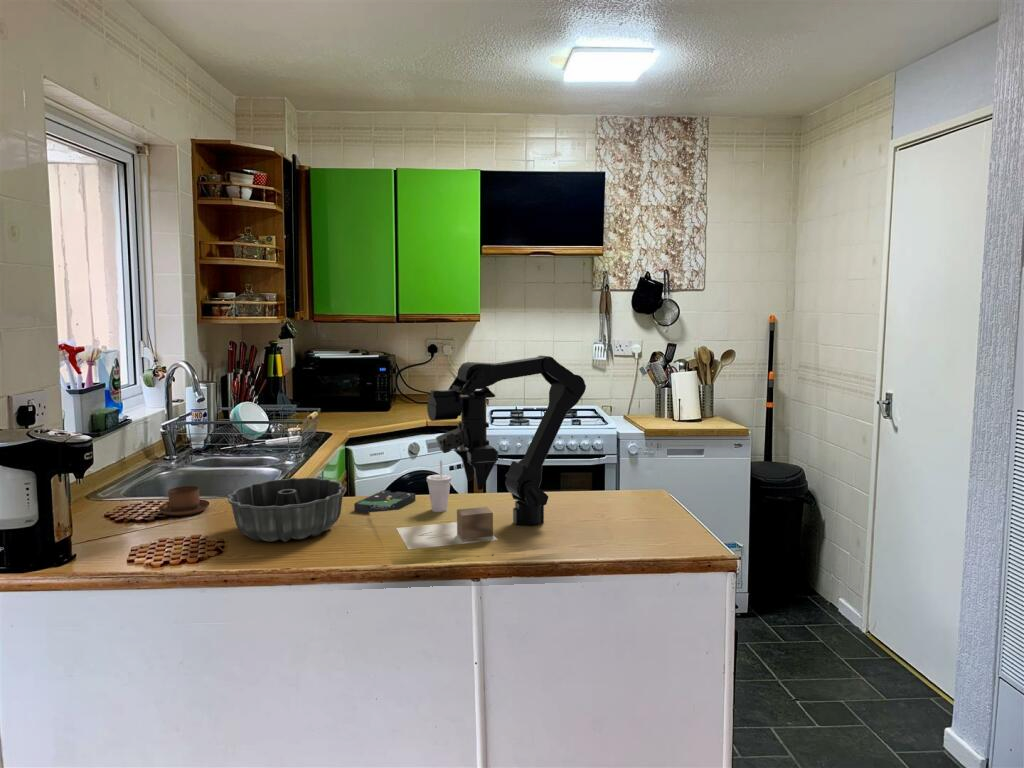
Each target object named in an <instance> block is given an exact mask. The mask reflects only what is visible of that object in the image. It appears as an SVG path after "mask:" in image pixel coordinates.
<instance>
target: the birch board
mask: <svg viewBox="0 0 1024 768" xmlns="http://www.w3.org/2000/svg"><path fill="white" fill-rule="evenodd" d="M396 530H397V532H398V533H399V536H400V538H401V539H402V541H403V543H404V545H405V546H406V548H407V550H408V551H409V550H415V549H425V548H436V547H445V546H455V545H462V544H463V545H465V544H474V543H481V542H492V541H498V538H497V537H496V536H495V535H494V534H493V539H488V540H478V541H469V542H462V541H461V540H460V539H459V537H458V536H457V521H455V522H454V521H452V522H445V523H443V522H442V523H435V524H426V525H425V524H424V525H423V524H422V525H415V526H414V525H413V526H405V527H404V526H402V527H396Z"/></svg>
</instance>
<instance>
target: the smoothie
mask: <svg viewBox="0 0 1024 768" xmlns="http://www.w3.org/2000/svg"><path fill="white" fill-rule="evenodd" d="M452 481H453V480H452V476H451V475H449V474H443V460H442V459H441V460H439V474H438V473H437V474H432V475H427V477H426V482H427V486H428V492H429V501H430V505H431V506H430V507H431V511H432V512H435V513H443V512H447V511H448V507H449V497H450V489H451V482H452Z"/></svg>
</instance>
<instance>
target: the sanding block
mask: <svg viewBox="0 0 1024 768" xmlns="http://www.w3.org/2000/svg"><path fill="white" fill-rule="evenodd" d="M456 522H457V536H458V537H459V539H460V540H461V541H462V542H469V541H478V540H488V539H493V535H494V512H493V511H492V510H491V509H490V508H488V507H487V506H482V507H481V506H480V507H471V508H470V507H469V508H460V509H459V508H458V509H456Z"/></svg>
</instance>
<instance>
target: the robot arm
mask: <svg viewBox="0 0 1024 768" xmlns="http://www.w3.org/2000/svg"><path fill="white" fill-rule="evenodd" d="M534 375H541V376H542V377H543V379H544V380H545V381H546V382H547V383H548V384H549V385H550V389H549V390H548V391H549V392H548V406H547V407H546V410H545V412H544V414H543V416H542V418H541V420H540V422H539V425H538V427H537V429H536V431H535V433H534V435H533V437H532V438H531V439H532V440H531V442H530V444H529V446H528V448H527V450H526V452H525V454H524V456H523V457H522V458H521V460H519V461H518V462H517V461H514V460H513V461H511V463H510V466H509V469H508V471H507V472H506V474H504V477H506V479H505V481H504V485H505V487H506V489H507V491H508V492H509V493H510V494H511V496H512V499H513V500H515V501H514V506H515V507H513V508H512V523H513V524H514V525H515V526H519V527H522V526H523V527H534V526H535V527H536V526H540V525H541V524H545V523H544V522H545V506H546V505H547V504H548V500H549V495H548V494H546V493H545V491H543V490H542V488H541V487H540V486H541V483H542V479H543V465H544V463H545V461H546V458H547V457H548V454H549V452H550V450H551V448H552V446H553V443H554V441H555V439H556V437H557V435H558V432H559V430H560V429H561V426H562V424H563V422H564V419H565V417H566V416H567V414H568V412H569V411H570V410H571V409H573V408H574V407H575V406H577V404H578V403H579V402H580V400H581V399H582V396H584V394H585V393H586V392H585V391H586V389H587V385H586V382H585V380H584V377H582V376H581V375H580V374H579V375H578V374H575V373H573V372H572V371H571V370H570V369H568V368H566V367H565V366H563V365H562V364H561V363H559V362H558V361H557V360H556V359H555V358H554V357H552V356H550V355H538V356H534V357H530V358H522V359H517V360H516V359H515V360H509V361H502V362H495V363H494V362H493V363H492V362H480V361H479V362H477V361H475V362H474V361H467V362H464V363H462V364H461V365H460V366H459V368H458V370H457V376H456V377H455V378H454V380H453V381H452V383H451V385H450V386H449V388H448V389H445V390H437V389H431V390H430V396H429V397H428V400H427V404H426V411H427V415H428V418H429V420H430V421H431V422H435V421H436V422H439V421H450V420H457V419H458V418H459V417H460V421H459V422H457V428H455V429H452V430H450V431H447V432H445V433H442V434H440V435H438V436H436V437H435V439H436V442H437V445H438V448H439V450H440V451H441V452H442V454H443V453H444V454H447V453H450V452H451V451H452V450H453V451H454V453H456V454H457V455H458V456H459V457H460V458H461V462H462V464H463V465H462V466H463V469H464V474H465V476H466V481H468V482H469V481H470V482H471V481H472V480H473V479H474V478H475V484H476V489H477V490H478V491H483V489H484V487H485V484H486V482H487V481H488V477H489V475H490V474H491V472H492V469H493V468H494V466H495V464H496V463H497V461H499V451H498V450H497V449H495V448H494V447H493V446H492V445H490V441H489V440H488V439H487V429H488V428H489V427H490V423H489V422H488V421H487V399H488V398H491V399H492V398H495V397H496V394H495V393H494V392H493V391H491V389H490V388H489V387H490V386H493V385H495V384H496V383H498V382H501V381H503V380H508V379H509V380H510V379H516V378H523V377H527V376H529V377H530V376H534Z"/></svg>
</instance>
